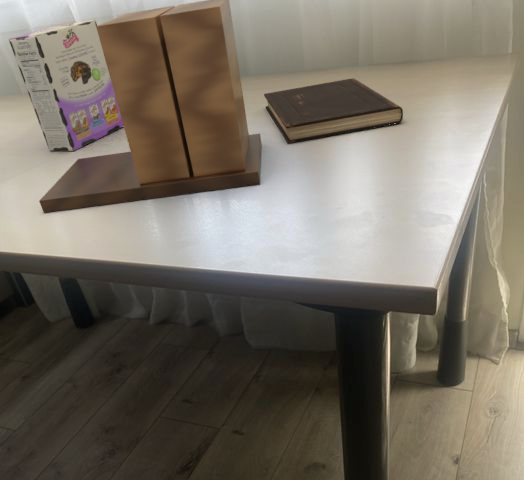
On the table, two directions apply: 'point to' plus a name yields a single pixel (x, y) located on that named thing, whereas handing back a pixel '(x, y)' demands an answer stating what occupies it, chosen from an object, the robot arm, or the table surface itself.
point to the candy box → (68, 84)
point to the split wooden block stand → (169, 111)
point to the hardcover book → (330, 110)
